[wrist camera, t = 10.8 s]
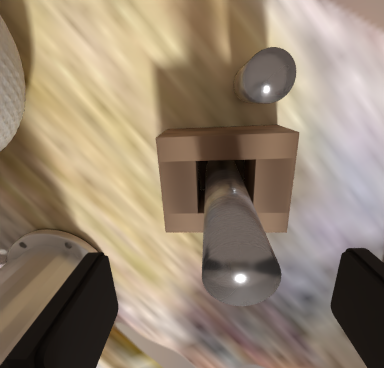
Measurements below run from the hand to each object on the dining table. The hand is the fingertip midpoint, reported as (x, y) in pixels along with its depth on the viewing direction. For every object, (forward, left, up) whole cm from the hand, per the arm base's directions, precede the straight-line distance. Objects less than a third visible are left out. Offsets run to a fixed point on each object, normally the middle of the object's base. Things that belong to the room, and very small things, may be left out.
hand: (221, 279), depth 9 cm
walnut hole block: (+1, +1, -14) cm, 14 cm away
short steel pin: (+3, +8, -14) cm, 16 cm away
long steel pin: (+1, 0, -14) cm, 14 cm away
